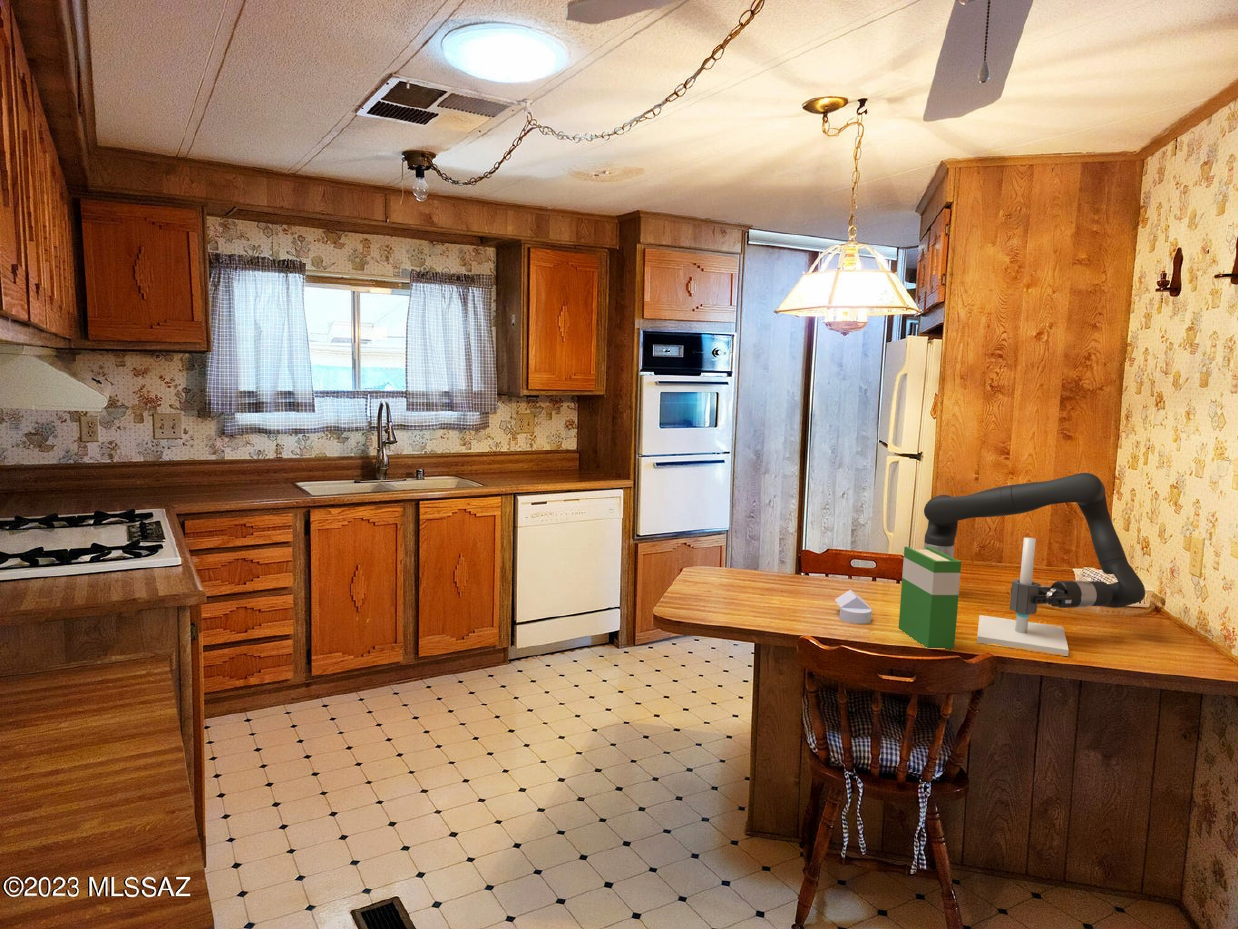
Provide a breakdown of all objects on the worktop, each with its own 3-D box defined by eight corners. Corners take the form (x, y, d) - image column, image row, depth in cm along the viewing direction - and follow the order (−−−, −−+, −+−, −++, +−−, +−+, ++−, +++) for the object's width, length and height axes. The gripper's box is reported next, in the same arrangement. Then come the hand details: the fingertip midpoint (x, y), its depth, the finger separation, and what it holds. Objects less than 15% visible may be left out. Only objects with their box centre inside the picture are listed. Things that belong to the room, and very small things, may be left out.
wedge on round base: (834, 610, 250) (842, 623, 237) (835, 588, 250) (844, 600, 237) (863, 611, 250) (874, 624, 237) (865, 590, 249) (875, 602, 236)
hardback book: (898, 628, 234) (904, 546, 231) (923, 628, 235) (929, 546, 232) (927, 649, 217) (934, 561, 214) (954, 649, 218) (961, 561, 215)
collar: (1009, 611, 226) (1012, 583, 225) (1009, 605, 232) (1012, 578, 231) (1037, 615, 223) (1039, 587, 222) (1036, 609, 229) (1038, 581, 228)
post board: (976, 643, 223) (985, 541, 220) (978, 621, 243) (986, 527, 239) (1067, 657, 214) (1078, 551, 210) (1062, 633, 234) (1072, 536, 230)
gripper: (1057, 574, 236) (1006, 575, 233) (1093, 588, 222) (1039, 589, 219) (1054, 599, 237) (1004, 601, 234) (1090, 614, 223) (1037, 616, 220)
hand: (1021, 595), depth 227 cm, fingers open, 8 cm apart
